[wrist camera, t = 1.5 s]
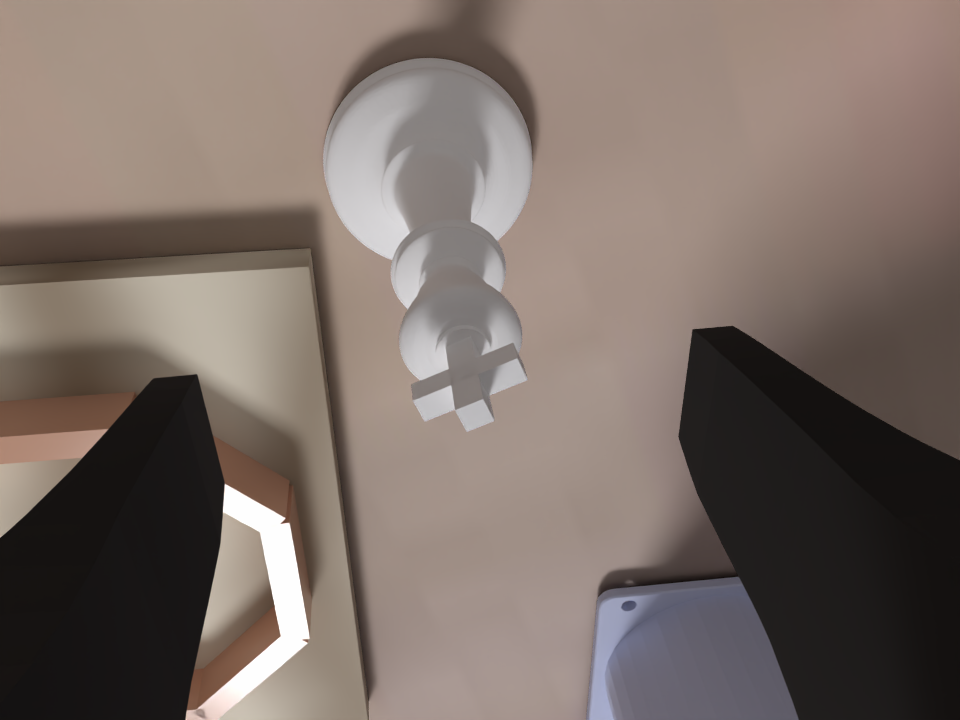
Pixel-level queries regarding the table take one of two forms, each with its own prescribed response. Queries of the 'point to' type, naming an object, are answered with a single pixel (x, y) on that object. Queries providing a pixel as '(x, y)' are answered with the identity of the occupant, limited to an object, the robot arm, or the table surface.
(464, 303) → the chess piece
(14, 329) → the birch board
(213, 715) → the ring collar
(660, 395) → the table surface
